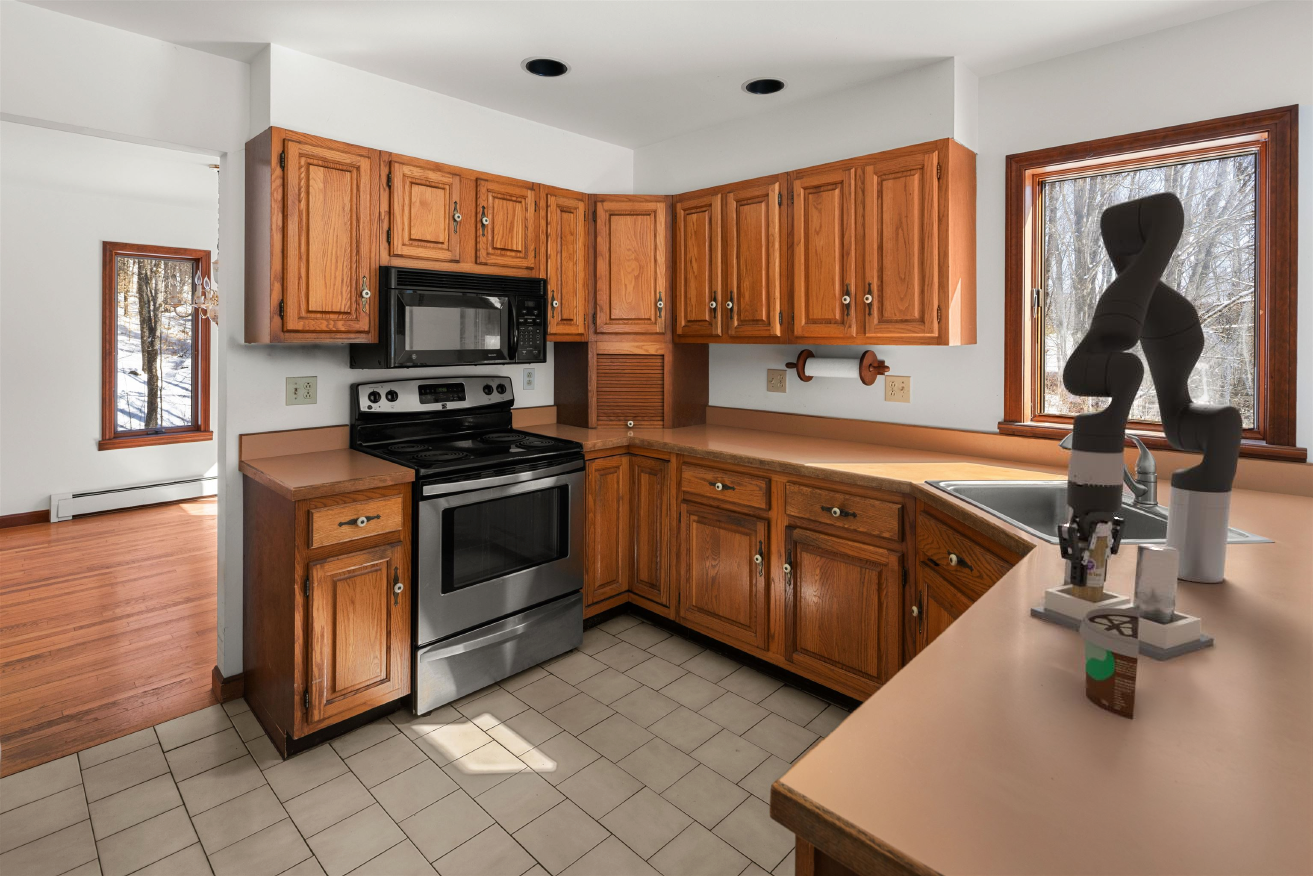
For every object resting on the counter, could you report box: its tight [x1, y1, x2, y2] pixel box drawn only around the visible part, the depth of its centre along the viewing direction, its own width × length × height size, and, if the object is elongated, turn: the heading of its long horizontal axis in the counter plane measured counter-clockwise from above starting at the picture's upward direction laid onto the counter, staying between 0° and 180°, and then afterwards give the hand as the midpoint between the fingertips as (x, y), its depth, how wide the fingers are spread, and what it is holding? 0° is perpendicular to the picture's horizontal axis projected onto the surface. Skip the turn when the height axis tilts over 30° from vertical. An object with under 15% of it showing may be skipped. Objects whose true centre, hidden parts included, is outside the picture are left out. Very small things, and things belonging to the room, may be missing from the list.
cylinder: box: [1132, 543, 1179, 625], centre depth 104 cm, size 5×5×13 cm
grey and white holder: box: [1030, 584, 1215, 662], centre depth 110 cm, size 13×20×4 cm, turn 26°
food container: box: [1078, 608, 1140, 720], centre depth 87 cm, size 12×6×10 cm, turn 145°
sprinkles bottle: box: [1071, 523, 1109, 603], centre depth 113 cm, size 5×5×14 cm
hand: (1087, 582), depth 114 cm, fingers closed on sprinkles bottle, 4 cm apart
